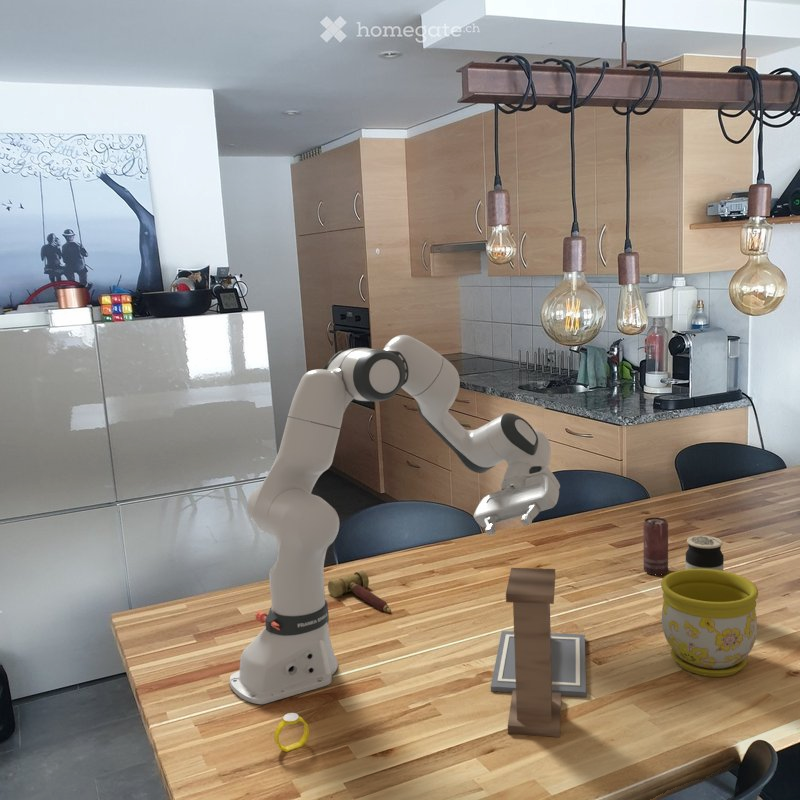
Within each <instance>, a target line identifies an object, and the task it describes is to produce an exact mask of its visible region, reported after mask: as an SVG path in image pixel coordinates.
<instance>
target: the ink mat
mask: <svg viewBox="0 0 800 800" xmlns="http://www.w3.org/2000/svg"><path fill="white" fill-rule="evenodd" d="M585 637H586V635H585V634H581V633H579V634H577V633H557V632H556V633H555V632H551V665H552V693H561V697H563V696H564V697H580V698H581V697H582V698H586V697H587V678H586V677H587V676H586V672H587V670H586V669H587V667H586V638H585ZM513 690H516V675H515V645H514V630H513V631H511V630H509V631H508V630H501V634H500V637H499V643H498V647H497V653H496V659H495V663H494V669H493V674H492V679H491V684H490V692H496V691H497V693H498V692H499V693H500V692H501V693H512V692H513Z"/></svg>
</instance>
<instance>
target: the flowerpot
mask: <svg viewBox="0 0 800 800" xmlns="http://www.w3.org/2000/svg"><path fill="white" fill-rule="evenodd" d="M660 586H661V590H662V591H663V592H662V598H663V602H662V610H661V611H662V612H661V624H662V632H663V635H664V638H665V640H666V642H667V644H668V646H670V648H671V649H670V654H671V657H672V658H673V660H674V661H676V663H677V664H678V665H679V667H681V668H683V669H684V670H686V671H688V672H690V673H693V674H696V675H699V676H705V677H711V678H712V677H713V678H716V677H717V678H719V677H728V676H731V675H735V674H737V673H738V672H739V671H740V670H741V669H743V668H744V667H745V666H746V665H747V661H748V659H747V657H748V655H749V654H750V652H751V651H752V649H753V648H754V645H755V643H756V639H757V632H758V620H757V612H756V608H757V601H756V600H757V598H758V596H759V589H758V588H757V585H755V583H754V582H753V581H751V580H750V579H748V578H746V577H745V576H742V575H739V574H736V573H733V572H730V571H725V570H723V571H720V570H713V569H686V568H685V569H682V570H676V571H673V572H670V573H668V574H666V575H664V576H663V578H662V580H661V584H660Z"/></svg>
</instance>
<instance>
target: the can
mask: <svg viewBox="0 0 800 800" xmlns="http://www.w3.org/2000/svg"><path fill="white" fill-rule="evenodd" d="M643 570H644V572H645V573H646V572H647V573H649V574H648V575H650V574H653V575H652V576H655V574H656V575H661V574H665V573H666V574H667V573H668V572H669V523H668V521H667V519H665V518H663V517H662V518H661V517H648V518H645V519H644V521H643ZM647 573H646V574H647ZM666 574H665V575H666ZM661 576H662V575H661Z"/></svg>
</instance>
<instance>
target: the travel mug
mask: <svg viewBox="0 0 800 800" xmlns="http://www.w3.org/2000/svg"><path fill="white" fill-rule="evenodd" d="M686 543H687V545H688V549H687V550H686V552H685V570H686V569H713V570H720V571H724V566H725V565H724V563H725V562H724V561H725V559H724V554H723V552H722V551H721V548H722V546H723V543H724V542H723V540H721V539H720V538H718V537H715V536H710V535H692V536H690V537H688V538H687V539H686Z"/></svg>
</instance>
